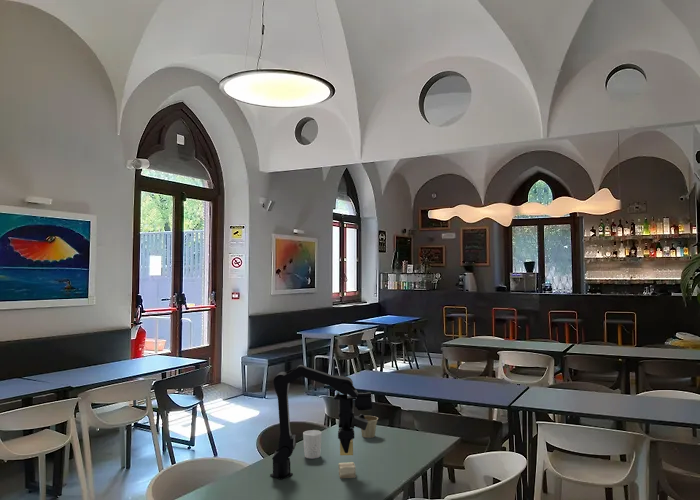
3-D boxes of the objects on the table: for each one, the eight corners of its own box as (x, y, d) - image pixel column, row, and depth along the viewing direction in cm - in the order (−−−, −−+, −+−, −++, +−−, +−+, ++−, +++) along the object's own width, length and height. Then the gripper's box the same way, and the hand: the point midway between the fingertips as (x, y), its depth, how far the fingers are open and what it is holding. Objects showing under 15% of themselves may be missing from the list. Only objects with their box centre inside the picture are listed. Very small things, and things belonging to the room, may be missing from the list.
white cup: (299, 457, 237) (299, 434, 237) (309, 452, 244) (309, 429, 244) (315, 460, 233) (315, 436, 234) (325, 454, 240) (324, 431, 241)
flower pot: (381, 435, 267) (381, 417, 268) (372, 440, 259) (372, 421, 260) (365, 432, 272) (364, 414, 273) (355, 437, 264) (354, 419, 265)
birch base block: (355, 478, 213) (355, 467, 213) (340, 478, 213) (339, 468, 213) (353, 472, 219) (353, 462, 219) (338, 473, 219) (338, 463, 219)
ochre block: (353, 455, 214) (352, 442, 214) (340, 455, 214) (339, 442, 214) (352, 451, 219) (352, 438, 219) (340, 451, 219) (340, 438, 219)
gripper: (367, 416, 208) (368, 458, 207) (365, 404, 226) (366, 442, 226) (337, 416, 208) (338, 458, 207) (338, 404, 226) (338, 443, 226)
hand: (346, 450), depth 216 cm, fingers closed on ochre block, 5 cm apart
